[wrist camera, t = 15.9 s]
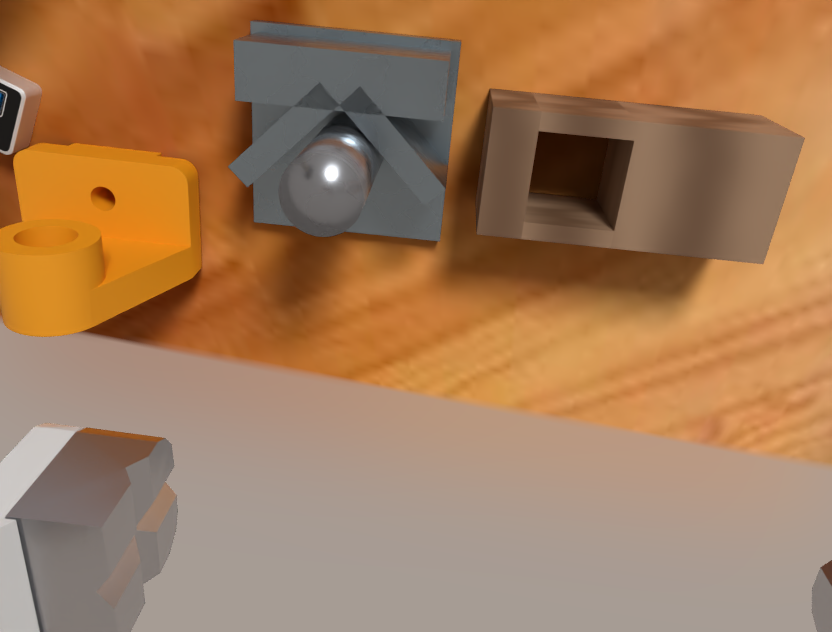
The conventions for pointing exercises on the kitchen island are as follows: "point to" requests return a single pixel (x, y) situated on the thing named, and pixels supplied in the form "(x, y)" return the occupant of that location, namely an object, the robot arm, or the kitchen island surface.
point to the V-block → (351, 115)
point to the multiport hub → (17, 110)
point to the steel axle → (330, 179)
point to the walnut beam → (639, 177)
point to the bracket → (95, 235)
